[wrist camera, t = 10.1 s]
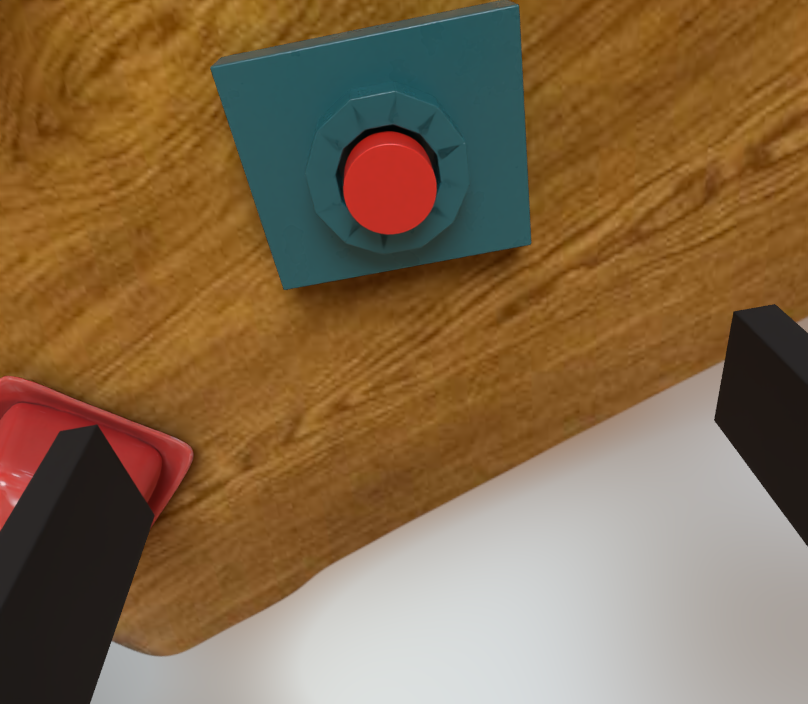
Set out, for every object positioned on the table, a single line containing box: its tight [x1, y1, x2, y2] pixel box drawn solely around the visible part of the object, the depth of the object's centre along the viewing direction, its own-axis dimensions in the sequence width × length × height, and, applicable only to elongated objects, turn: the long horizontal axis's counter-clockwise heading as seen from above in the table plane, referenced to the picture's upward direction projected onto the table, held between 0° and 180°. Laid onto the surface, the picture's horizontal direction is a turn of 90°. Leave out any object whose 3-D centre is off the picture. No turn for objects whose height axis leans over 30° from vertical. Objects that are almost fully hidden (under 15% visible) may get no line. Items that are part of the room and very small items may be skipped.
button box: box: [210, 0, 531, 290], centre depth 26 cm, size 12×10×4 cm
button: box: [343, 131, 437, 234], centre depth 24 cm, size 4×4×2 cm
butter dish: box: [0, 376, 194, 531], centre depth 33 cm, size 12×12×8 cm
